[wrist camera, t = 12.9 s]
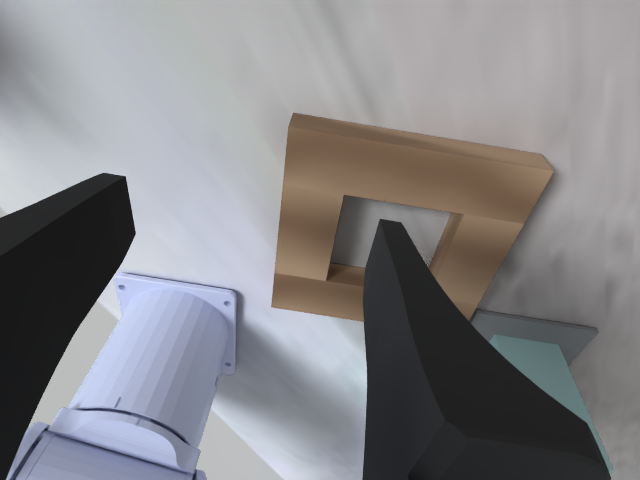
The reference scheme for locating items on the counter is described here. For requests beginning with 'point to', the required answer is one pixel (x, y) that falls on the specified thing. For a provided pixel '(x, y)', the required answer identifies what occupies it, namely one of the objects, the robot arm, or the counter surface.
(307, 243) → the block
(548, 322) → the rubber mat
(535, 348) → the peg
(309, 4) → the counter surface
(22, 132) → the counter surface
